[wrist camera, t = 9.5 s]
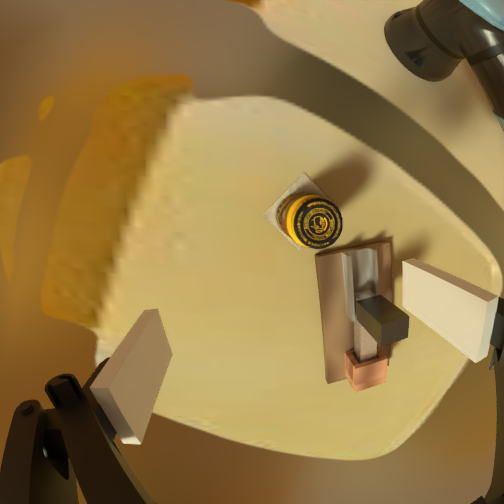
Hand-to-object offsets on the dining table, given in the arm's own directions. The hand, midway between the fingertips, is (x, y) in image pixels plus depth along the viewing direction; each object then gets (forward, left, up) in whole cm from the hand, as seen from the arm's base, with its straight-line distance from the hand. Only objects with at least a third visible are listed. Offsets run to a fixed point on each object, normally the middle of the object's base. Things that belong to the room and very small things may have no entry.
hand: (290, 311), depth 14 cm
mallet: (-14, +18, -24) cm, 33 cm away
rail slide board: (-14, +16, -27) cm, 34 cm away
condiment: (-7, -2, -27) cm, 28 cm away
